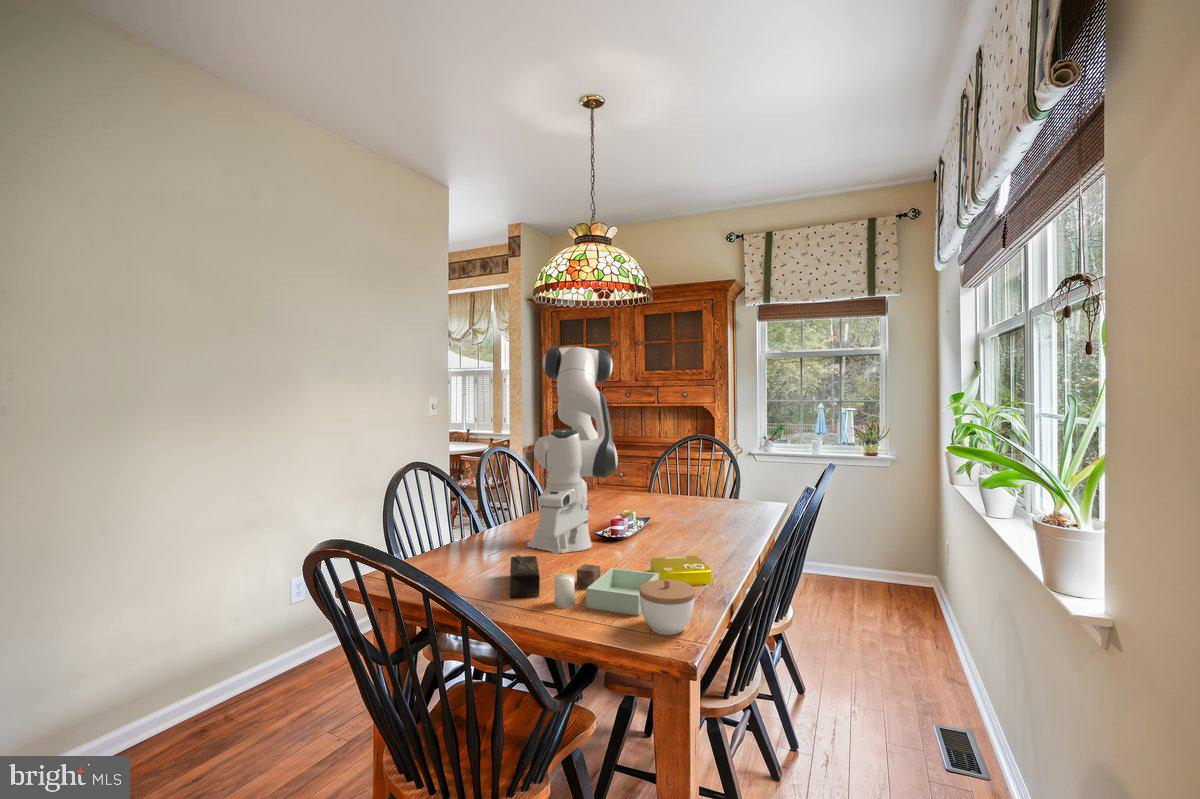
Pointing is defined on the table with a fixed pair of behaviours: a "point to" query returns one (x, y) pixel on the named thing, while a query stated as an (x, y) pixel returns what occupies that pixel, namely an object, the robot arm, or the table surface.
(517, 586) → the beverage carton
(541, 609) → the table surface
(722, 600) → the table surface
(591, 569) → the walnut block
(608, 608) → the tote
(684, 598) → the lidded bowl
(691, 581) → the element tile
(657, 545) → the table surface
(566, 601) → the white rounded cylinder
